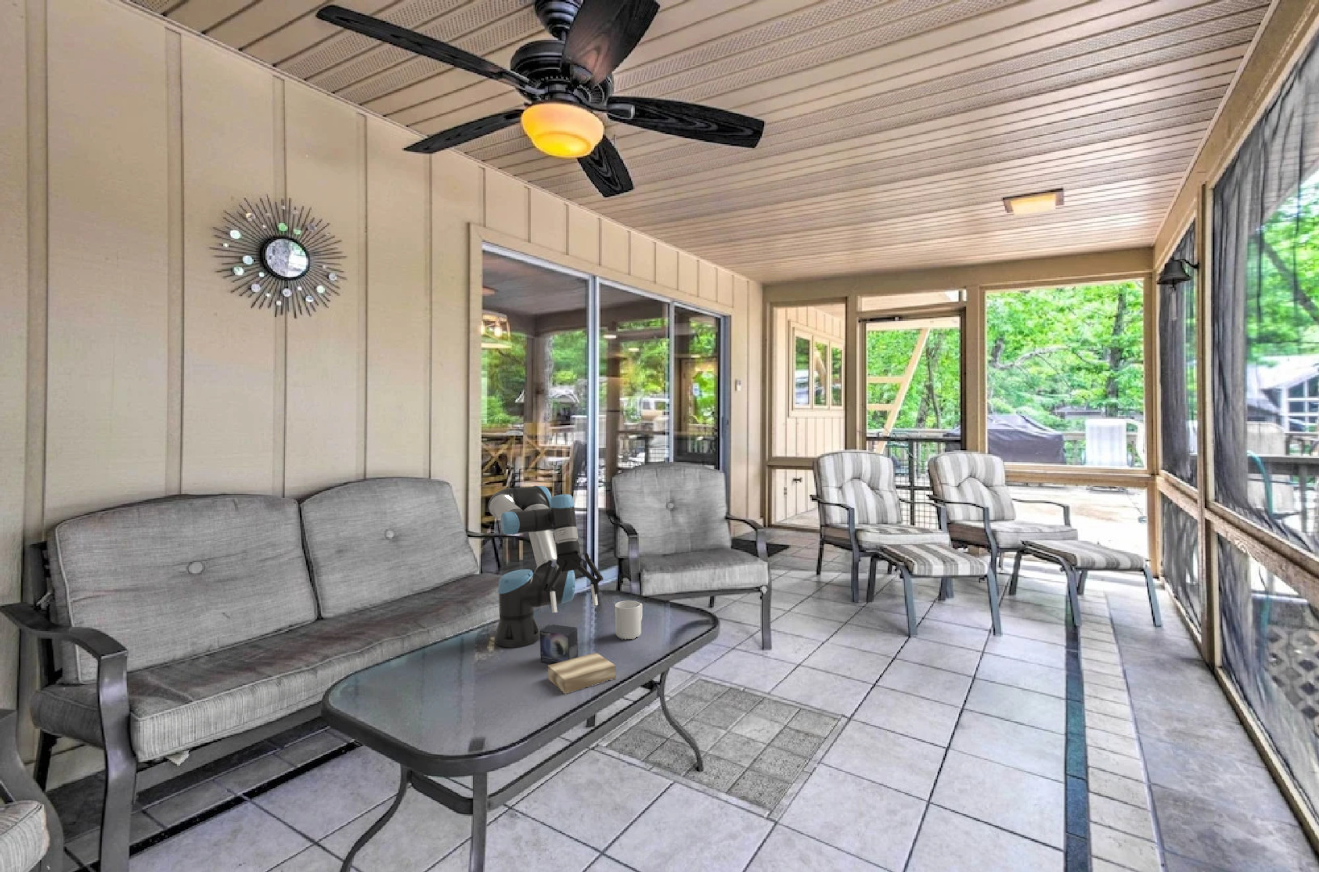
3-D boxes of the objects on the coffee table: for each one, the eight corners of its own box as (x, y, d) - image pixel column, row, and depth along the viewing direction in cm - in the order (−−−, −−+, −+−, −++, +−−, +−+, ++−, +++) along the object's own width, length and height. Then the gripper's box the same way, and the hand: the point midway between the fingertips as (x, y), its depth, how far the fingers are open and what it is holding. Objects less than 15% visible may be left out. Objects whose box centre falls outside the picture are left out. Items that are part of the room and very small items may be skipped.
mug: (630, 642, 204) (629, 610, 204) (610, 637, 209) (609, 605, 209) (651, 631, 214) (650, 600, 213) (631, 627, 219) (631, 596, 218)
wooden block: (548, 679, 177) (547, 665, 177) (596, 665, 186) (596, 652, 186) (565, 694, 167) (565, 679, 167) (615, 679, 176) (615, 665, 176)
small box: (539, 663, 189) (538, 630, 188) (550, 655, 195) (549, 623, 194) (568, 667, 185) (567, 634, 184) (579, 659, 191) (578, 626, 190)
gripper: (526, 548, 194) (533, 615, 189) (600, 534, 191) (609, 602, 185) (535, 549, 202) (542, 614, 196) (606, 536, 198) (616, 602, 193)
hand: (575, 609), depth 191 cm, fingers open, 13 cm apart
